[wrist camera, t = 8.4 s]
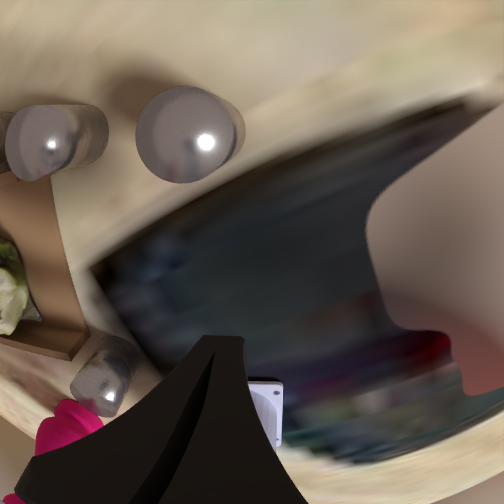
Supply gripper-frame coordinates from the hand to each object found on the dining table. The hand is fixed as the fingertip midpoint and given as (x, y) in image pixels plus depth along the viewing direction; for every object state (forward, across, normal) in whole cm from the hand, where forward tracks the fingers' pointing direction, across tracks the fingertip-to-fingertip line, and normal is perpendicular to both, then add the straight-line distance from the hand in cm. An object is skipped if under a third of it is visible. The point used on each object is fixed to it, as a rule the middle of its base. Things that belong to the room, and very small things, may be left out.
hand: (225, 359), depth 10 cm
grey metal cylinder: (+10, +2, -7) cm, 12 cm away
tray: (+10, +20, 0) cm, 23 cm away
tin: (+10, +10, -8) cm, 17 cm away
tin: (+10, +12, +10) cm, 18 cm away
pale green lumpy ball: (+10, +22, +2) cm, 24 cm away
